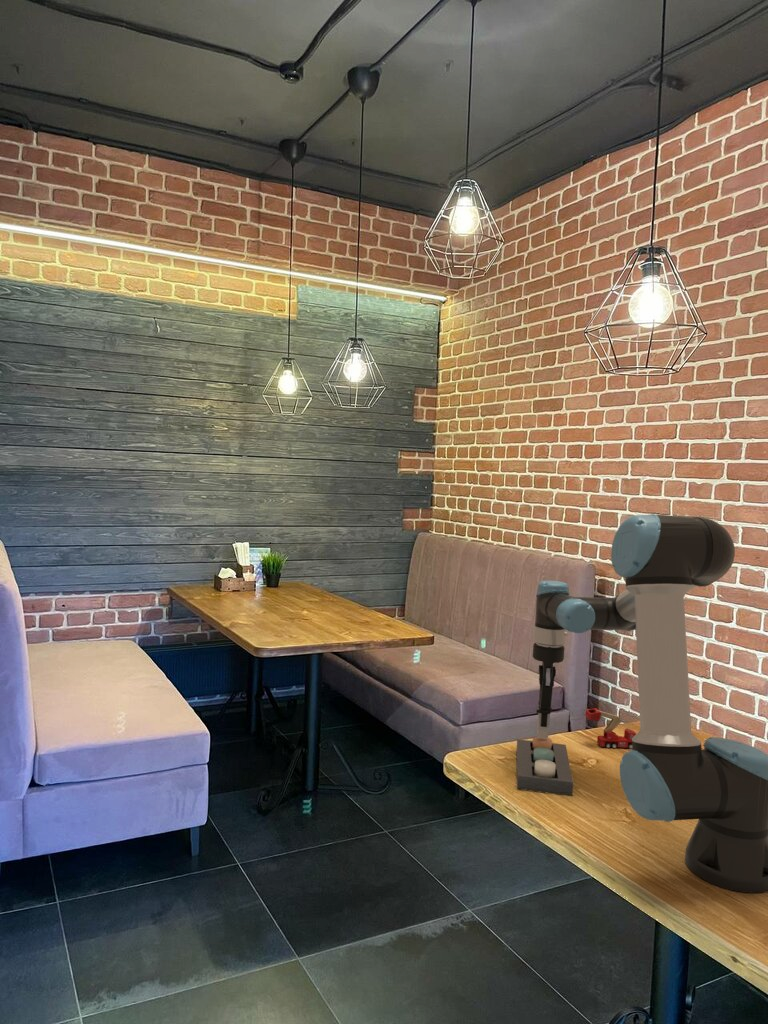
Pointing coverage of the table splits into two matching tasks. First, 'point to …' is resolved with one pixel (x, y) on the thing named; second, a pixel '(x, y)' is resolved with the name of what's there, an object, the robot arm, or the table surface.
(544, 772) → the button ivory
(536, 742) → the button terracotta
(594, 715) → the toy fire truck
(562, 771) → the panel
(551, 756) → the button teal
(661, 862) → the table surface
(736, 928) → the table surface
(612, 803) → the table surface
